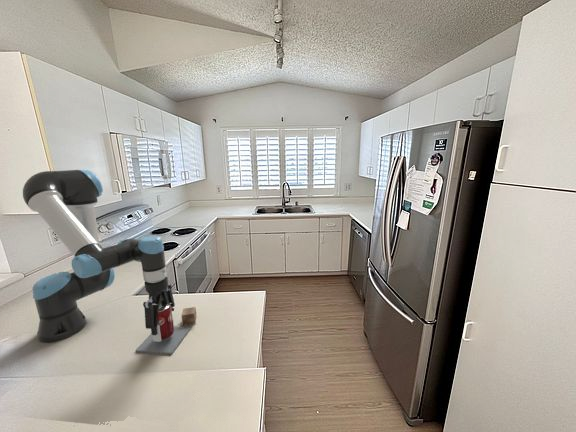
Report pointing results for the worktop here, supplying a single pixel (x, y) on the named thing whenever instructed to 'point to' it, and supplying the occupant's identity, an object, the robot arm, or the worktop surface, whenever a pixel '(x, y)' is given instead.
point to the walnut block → (189, 316)
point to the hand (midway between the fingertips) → (163, 333)
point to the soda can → (165, 321)
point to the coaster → (164, 342)
